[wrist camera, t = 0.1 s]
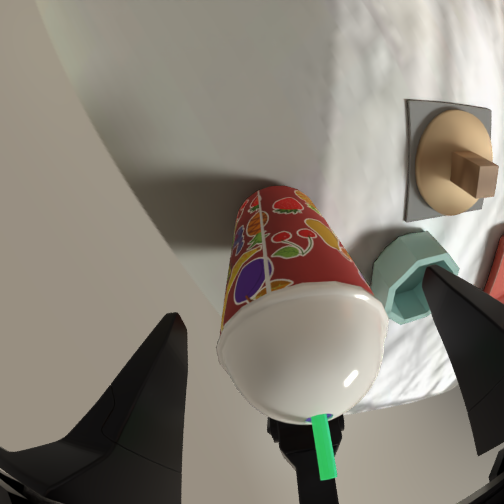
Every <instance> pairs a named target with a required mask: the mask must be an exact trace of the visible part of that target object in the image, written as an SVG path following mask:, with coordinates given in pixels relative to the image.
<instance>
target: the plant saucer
mask: <svg viewBox="0 0 504 504" xmlns="http://www.w3.org/2000/svg"><path fill="white" fill-rule="evenodd" d="M484 292H485V293H487V294H489V295H490V296H492V297H493V298H495V299H497V300H498V301H500V302H501V303H503V304H504V235H503V236H501V238H500V240H499V244H498V247H497V251H496V255H495V258H494V262H493V265H492V268H491V271H490V274H489V277H488V280H487V283H486V286H485V288H484Z"/></svg>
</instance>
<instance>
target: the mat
mask: <svg viewBox="0 0 504 504" xmlns="http://www.w3.org/2000/svg"><path fill="white" fill-rule="evenodd" d="M407 102H408V118H409V178H408V196H407V208H406V218H405V221H406V222H412V221H418V220H424V219H429V218H435V217H440V216H446V215H443V214H440V213H438V212H437V211H435V210H434V209H433V208H432V207H431V206H429V205H428V204H427V203H426V202H425V200H424V199H423V197H422V196H421V194H420V192H419V189H418V186H417V182H416V176H415V158H416V152H417V148H418V144H419V141H420V139H421V136H422V134H423V132H424V130H425V129H426V127H427V126H428V124H429V123H430V122H431V121H432V119H434V118H435V117H436V116H437V115H438V114H440V113H442V112H444V111H447V110H451V109H457V110H462V111H465V112H468V113H470V114H473V115H474V116H475V117H477V118H478V119H479V120H480V121H481V122H482V124H483V125H484V127H485V128H486V130H487V132H488V134H489V137H490V141H491V110H489V109H484V108H479V107H472V106H466V105H459V104H451V103H441V102H430V101H415V100H407ZM483 200H484V198H479V199H478V201H477V202H476V203H475V204H474V205H473V206H472V207H470V208H469V209H468V210H466V211H465V212H468V211H474V210H479V209H482V205H483Z"/></svg>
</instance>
